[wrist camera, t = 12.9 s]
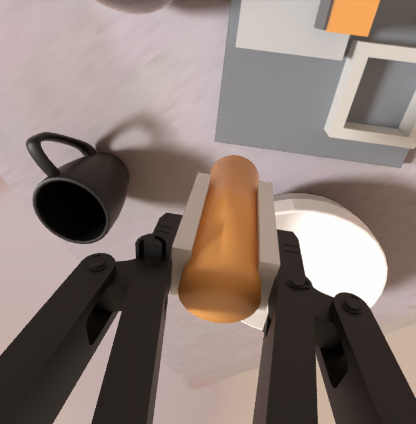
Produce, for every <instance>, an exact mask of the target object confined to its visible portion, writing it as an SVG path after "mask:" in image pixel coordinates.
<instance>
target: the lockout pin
mask: <svg viewBox="0 0 416 424" xmlns="http://www.w3.org/2000/svg"><path fill="white" fill-rule="evenodd" d="M210 174H211V181H210V186H209V190H208V194H207V197H206V201H205V205H204V209H203V213H202V217H201V221H200V225H199V228H198V232H197V236H196V240H195V244H194V248H193V252H192V256H191V259H190V261H188V263H187V264H186V265H185V267H184V268H183V271H182V275H181V278H180V282H179V285H178V295H179V299H180V301H181V302H182V304H183V305H184V307H185V308H186V309H187V310H188V311H190V312H191V313H192V314H194V315H195V316H197V317H199V318H202V319H204V320H207V321H211V322H217V323H233V322H238V321H241V320H244V319H246V318H248V317H250V316H251V315H252V314H254V313H255V312H256V311H257V309H258V308H259V306H260V303H261V279H260V275H259V273H258V257H257V186H258V181H259V176H258V171H257V169H256V167H255V166H254V164H253V163H252V162H251V161H249V160H248V159H246V158H244V157H241V156H235V155H233V156H226V157H224V158H221V159H220V160H218V161H217V162H216V163H215V164H214V165H213V167H212V169H211V172H210Z"/></svg>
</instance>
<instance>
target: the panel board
mask: <svg viewBox="0 0 416 424" xmlns="http://www.w3.org/2000/svg"><path fill="white" fill-rule="evenodd" d="M320 1H321V0H231V5H230V14H229V22H228V31H227V40H226V48H225V57H224V65H223V74H222V82H221V91H220V100H219V108H218V117H217V125H216V134H215V142H221V143H228V144H235V145H242V146H249V147H256V148H263V149H270V150H277V151H284V152H291V153H298V154H305V155H312V156H319V157H326V158H333V159H340V160H347V161H354V162H361V163H368V164H375V165H382V166H389V167H396V168H401V166H402V164H403V162H404V160H405V158H406V156H407V154H408V152H409V150H410V148H411V149H415V147H416V0H380V2H379V5H378V8H377V11H376V14H375V17H374V20H373V23H372V26H371V29H370V32H369V35H368V37H366V36H357V35H349V34H341V33H333V32H326V30H321V29H317V28H314V25H315V21H316V17H317V13H318V9H319V5H320Z"/></svg>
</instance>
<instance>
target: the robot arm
mask: <svg viewBox="0 0 416 424" xmlns="http://www.w3.org/2000/svg"><path fill="white" fill-rule="evenodd" d="M210 181H211V174H206V173H200V172H198V174H197V177H196V179H195V182H194V185H193V188H192V191H191V194H190V197H189V199H188V202H187V205H186V208H185V211H184V214H183V215H178V214H171V213H165V214H164V215H163V216H162V217H160V218H159V221H158V223H157V226H156V227H155V229H154V231H153V234H147V235H143V236H141V237H140V238H138V240H137V241H136V243H135V246H136V259H133V260H128V261H119V262H115V259H114V258H113V257H112V256H111V255H108V254H105V253H97V254H92V255H90V256H87V257H86V258H85V259H83V260H82V261H81V263H80V264H79V265H78V266H77V267H76V268H75V269H74V271H73V272H72V273H71V274H70V275H69V276H68V278H67V279H66V280H65V281H64V282H63V284H62V285H61V286H60V287H59V288H58V289H57V291H56V292H55V293H54V294H53V295H52V296H51V297H50V299H49V300H48V301H47V302H46V303H45V304H44V306H43V307H42V308H41V309H40V310H39V311H38V313H37V314H36V315H35V316H34V317H33V318H32V320H31V321H30V322H29V323H28V324H27V325H26V326H25V328H24V329H23V330H22V331H21V332H20V333H19V335H18V336H17V337H16V338H15V339H14V341H13V342H12V343H11V344H10V345H9V346H8V347H7V349H6V350H5V351H4V352H3V353H2V354H1V356H0V424H53V422H54V420H55V419H56V417H57V415H58V414H59V412H60V410H61V409H62V407H63V405H64V404H65V402H66V400H67V398H68V397H69V395H70V393H71V392H72V390H73V388H74V386H75V385H76V383H77V381H78V380H79V378H80V376H81V375H82V373H83V371H84V370H85V368H86V366H87V364H88V363H89V361H90V359H91V358H92V356H93V354H94V353H95V351H96V349H97V347H98V346H99V344H100V342H101V341H102V339H103V337H104V336H105V334H106V332H107V330H108V329H109V327H110V325H111V324H112V322H113V320H114V319H115V317H116V315H117V313H118V311H122V313H121V316H120V320H119V324H118V328H117V331H116V335H115V339H114V342H113V346H112V349H111V353H110V357H109V361H108V364H107V368H106V372H105V375H104V379H103V383H102V386H101V390H100V394H99V398H98V401H97V405H96V408H95V412H94V416H93V420H92V423H91V424H152V422H153V416H154V408H155V399H156V392H157V384H158V375H159V368H160V360H161V352H162V344H163V336H164V328H165V320H166V312H167V304H168V294H169V291H170V295H174V296H179V295H178V285H179V282H180V278H181V275H182V271H183V268H184V267H185V265H186V264H187V263H188V261H190V259H191V256H192V252H193V248H194V244H195V240H196V236H197V232H198V228H199V225H200V221H201V217H202V213H203V209H204V205H205V201H206V197H207V194H208V190H209V186H210ZM257 257H258V273H259V275H260V279H261V303H260V306H259V308H258V309H257V310H263V311H266V308H267V305H268V315H267V318H266V321H265V324H264V327H263V330H262V332H264V338H263V346H262V354H261V362H260V369H259V377H258V385H257V393H256V401H255V409H254V417H253V424H318V416H317V385H316V356H317V360H318V363H319V367H320V370H321V373H322V377H323V381H324V384H325V387H326V391H327V394H328V398H329V401H330V405H331V408H332V412H333V415H334V419H335V422H336V424H416V398H415V396H414V394H413V392H412V390H411V388H410V386H409V385H408V382H407V380H406V378H405V376H404V375H403V373H402V371H401V369H400V367H399V365H398V363H397V361H396V359H395V357H394V355H393V353H392V351H391V349H390V347H389V345H388V343H387V341H386V339H385V337H384V335H383V333H382V331H381V329H380V327H379V325H378V323H377V321H376V319H375V318H374V316H373V314H372V312H371V310H370V308H369V306H368V305H367V304H366V302H365V301H364V300H362V299H361V298H360V297H358V296H356V295H354V294H352V293H348V292H340V293H338V294H336V295H335V297H332V296H330V295H327V294H325V293H322V292H320V291H318V290H317V289H315V288H314V287H313V285H312V282H311V281H310V280H309V278H308V277H306V275H305V270H304V265H303V260H302V255H301V250H300V244H299V239H298V238H297V236H296V235H295V234H294V232H292V231H285V230H279V229H277V227H276V217H275V208H274V198H273V188H272V183H267V182H261V181H258V186H257ZM315 353H316V354H315Z"/></svg>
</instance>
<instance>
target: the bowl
mask: <svg viewBox="0 0 416 424" xmlns="http://www.w3.org/2000/svg"><path fill="white" fill-rule="evenodd" d="M273 198H274V208H275V217H276V227H277V229H279V230H285V231H292V232H294V234H295V235H296V236H297V238H298V239H299V244H300V250H301V255H302V260H303V265H304V270H305V275H306V277H308V278H309V280H310V281H311V282H312V285H313V287H314V288H315V289H317V290H318V291H320V292H322V293H325V294H327V295H330V296H332V297H335V295H336V294H338V293H340V292H348V293H352V294H354V295H356V296H358V297H360V298H361V299H362V300H364V301H365V302H366V304H367V305H368V306H369V308H371V307H372V306H373V305H374V304H375V303H376V301H377V300H378V298H379V297H380V295H381V294H382V292H383V289H384V287H385V284H386V281H387V270H388V266H387V261H386V257H385V253H384V252H383V250H382V248H381V246H380V244H379V243H378V241H377V240H376V238H375V237H374V235H373V234H372V233H371V231H370V230H369V228H368V227H367V226H366V225H365V224H364V223H363V222H362V221H361V220H360V219H359V218H358V217H356V216H355V215H354V214H353V213H351V212H350V211H349V210H348V209H346V208H345V207H343V206H342V205H340V204H338V203H337V202H335V201H332V200H330V199H327V198H325V197H322V196H318V195H312V194H307V193H286V194H279V195H273ZM267 315H268V305H267V308H266V311H263V310H257V311H256V312H255V313H254V314H252V315H251V316H250V317H248V318H246V319H244V320H241V322H243V323H245V324H247V325H249V326H251V327H254V328H257V329H260V330H263V327H264V324H265V321H266V318H267Z"/></svg>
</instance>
